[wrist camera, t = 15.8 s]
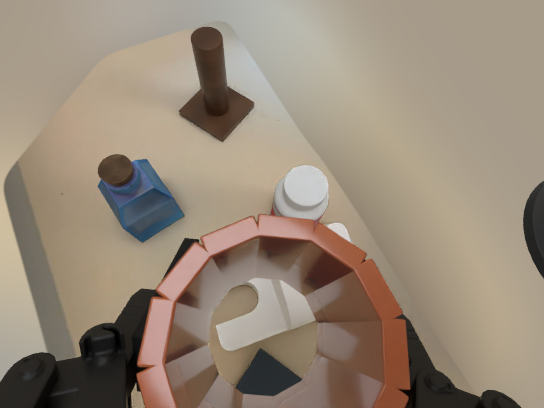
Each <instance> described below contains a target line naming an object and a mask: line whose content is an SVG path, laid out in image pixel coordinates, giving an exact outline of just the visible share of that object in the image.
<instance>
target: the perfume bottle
mask: <svg viewBox="0 0 544 408" xmlns="http://www.w3.org/2000/svg"><path fill="white" fill-rule="evenodd" d="M98 174H99V177H100V178H101V181H100V183H99V185H98V188H99V189H100V191H101V193H102V194H103V196H104V197H105V199H106V201H107V202H108V204H109V206H110V207H111V209H112V211H113V212H114V214H115V215H116V217H117V219H118V220H119V222H120V224H121V225H122V227H123V229H125V230H126V231H127V232H129V233H130V234H131V235H133V236H134V237H135V238H137V239H138V240H139V241H141V242H144V241H145V240H147V239H148V238H150V237H152V236H153V235H155V234H156V233H158V232H160V231H161V230H163V229H164V228H166V227H167V226H169V225H171V224H172V223H174V222H175V221H177V220H179V219H180V218H182V217H183V216H184V214H183V213H182V211H181V209H180V208H179V206H178V205H177V203H176V201H175V200H174V198H173V197H172V195H171V194H170V192H169V191H168V189H167V188H166V186H165V185H164V183H163V182H162V181H161V179H160V178H159V176H158V175H157V173H156V172H155V170H154V169H153V167H152V166H151V164H150V163H149V162H148V160H147V159H142V160H135V161H133V162H131V161H130V160H129V159H128V158H127V157H126V156H124V155H120V154H115V155H111V156H108V157H106V158H105V159H103V161H102V162H101V163H100V165H99V167H98Z"/></svg>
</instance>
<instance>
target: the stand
mask: <svg viewBox="0 0 544 408" xmlns="http://www.w3.org/2000/svg"><path fill="white" fill-rule="evenodd" d="M191 43H192V47H193V52H194V57H195V62H196V67H197V71H198V76H199V81H200V86H201V89H200V90H199V91H198V92H197V93H196V94H195V95H194V96H193V97H192V98H191V99H190V100H189V101H188V102H187V103H186V104H185V105H184V106H183V107H182V108H181V109H180V110H179V112H180V115H182V116H183V117H185V118H186V119H188V120H189V121H191V122H193V123H194V124H196V125H197V126H199V127H200V128H202V129H203V130H205V131H207V132H208V133H210V134H211V135H213V136H214V137H216V138H217V139H219V140H221V141H222V142H223V141H224V140H225V138H226V137H227V136H228V135H229V134H230V133H231V132H232V131H233V129H234V128H235V127H236V126H237V125H238V124H239V123H240V122H241V120H242V119H243V118H244V117H245V116H246V115H247V114H248V113H249V112H250V110H251V109H252V108H253V107H254V102H252V101H251V100H249V99H248V98H246V97H244V96H243V95H241V94H239V93H238V92H236V91H234V90H233V89H231V88H229V87H228V86H227V79H226V69H225V59H224V48H223V38H222V35H221V33H220V32H219V31H218V30H217V29H215V28H212V27H201V28H199V29H197V30H195V31H194V32H193V33H192V35H191Z"/></svg>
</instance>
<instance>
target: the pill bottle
mask: <svg viewBox="0 0 544 408" xmlns="http://www.w3.org/2000/svg"><path fill="white" fill-rule="evenodd" d="M328 188H329V186H328V181H327V178H326V176H325V175H324V174H323V172H322V171H320V170H319V169H318V168H316V167H313V166H309V165H300V166H297V167H295V168H293V169H291V170H290V171H289V172H288V173H287V175H286V176H285V177H283V178H282V179H281V180H280V181H279V183H278V184H277V186H276V189H275V192H274V198H273V204H272V211H271V215H274V216H284V217H294V218H304V219H313V220H314V228H315V226H316V225H317V223H318V222H319V220H320V218H321V217H322V215H323V214H324V212H325V210H326V208H327V206H328V201H329V195H328Z"/></svg>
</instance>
